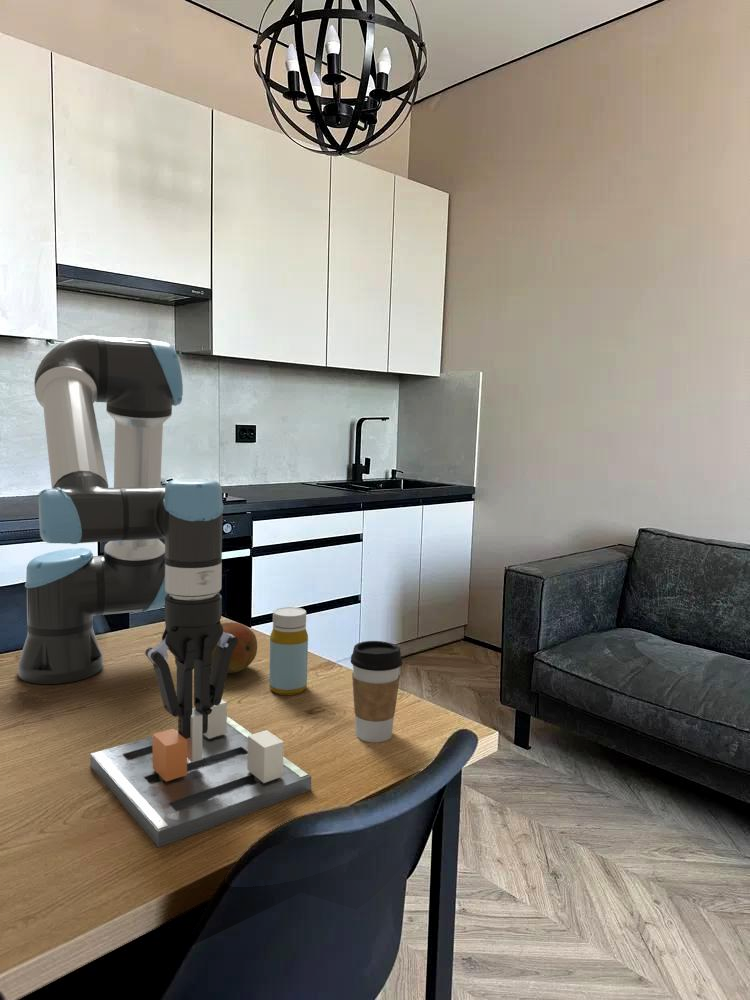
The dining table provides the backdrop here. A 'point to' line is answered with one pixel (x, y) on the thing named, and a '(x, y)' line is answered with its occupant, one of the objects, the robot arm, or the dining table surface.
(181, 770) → the block
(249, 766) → the block
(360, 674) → the coffee cup
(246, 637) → the fruit
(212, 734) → the block
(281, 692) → the bottle
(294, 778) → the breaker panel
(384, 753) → the dining table surface
